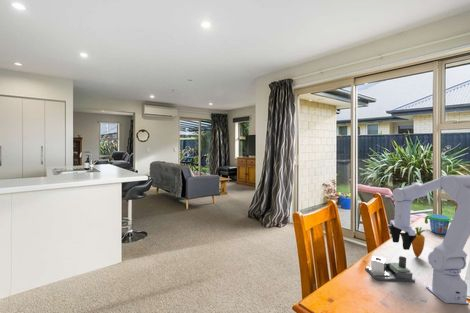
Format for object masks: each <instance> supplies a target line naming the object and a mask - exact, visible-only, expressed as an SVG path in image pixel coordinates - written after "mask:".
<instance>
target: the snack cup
mask: <svg viewBox="0 0 470 313" xmlns="http://www.w3.org/2000/svg"><path fill="white" fill-rule="evenodd" d="M428 219H429V221H428ZM451 221H452V219H451V217H450V216H447V215H442V214H435V213H431V214H428V215H426V216H425V218H424V224H428V223H429V227H430V231H431V232H432V233H434V232H435V234H438V233H439V234H438V235H446V233H447V231H448V228H449V226H450V223H451Z"/></svg>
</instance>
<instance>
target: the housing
mask: <svg viewBox="0 0 470 313" xmlns="http://www.w3.org/2000/svg"><path fill="white" fill-rule="evenodd" d="M370 260H371V266H370V267H371V272H374V273H378V274H381V275H384V272H385V262H387V261H386V258H383V257H379V256H376V255H373V256H372V258H371V259H370Z"/></svg>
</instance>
